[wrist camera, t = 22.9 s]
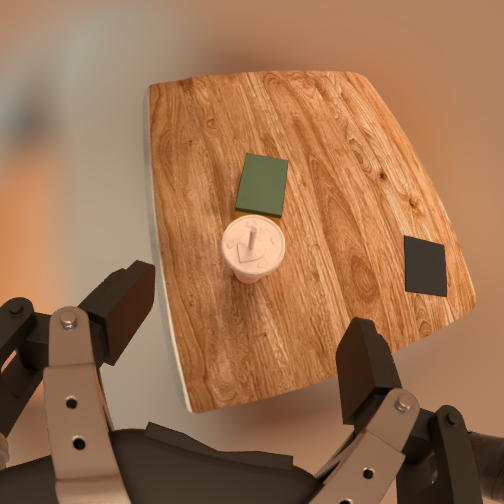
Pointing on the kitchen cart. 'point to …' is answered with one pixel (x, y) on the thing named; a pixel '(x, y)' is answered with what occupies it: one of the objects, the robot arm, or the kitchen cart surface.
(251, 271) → the smoothie
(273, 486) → the robot arm
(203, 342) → the kitchen cart surface
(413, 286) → the cloth
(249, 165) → the scrubber
